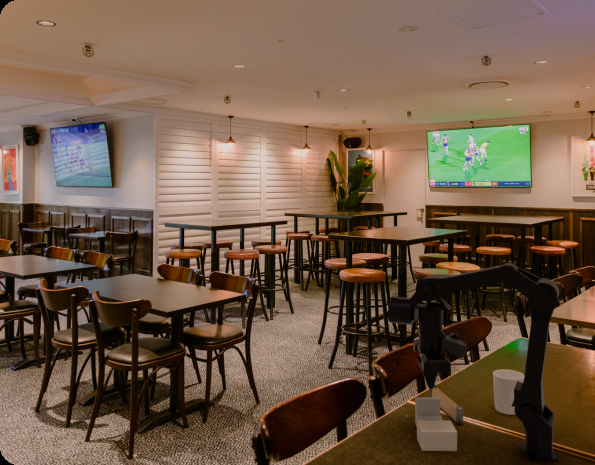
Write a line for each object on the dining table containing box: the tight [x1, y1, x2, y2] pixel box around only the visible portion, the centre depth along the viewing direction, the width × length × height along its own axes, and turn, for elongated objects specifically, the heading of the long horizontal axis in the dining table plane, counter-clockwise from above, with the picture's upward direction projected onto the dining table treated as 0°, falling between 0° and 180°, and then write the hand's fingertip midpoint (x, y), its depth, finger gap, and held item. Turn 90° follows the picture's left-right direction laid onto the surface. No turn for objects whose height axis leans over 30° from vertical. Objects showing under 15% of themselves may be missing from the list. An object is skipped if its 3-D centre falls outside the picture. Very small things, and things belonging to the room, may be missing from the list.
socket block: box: [416, 420, 458, 452], centre depth 120 cm, size 6×8×4 cm
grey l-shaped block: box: [414, 396, 444, 428], centre depth 127 cm, size 7×6×7 cm
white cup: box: [492, 368, 525, 416], centre depth 139 cm, size 8×8×10 cm
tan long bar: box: [429, 384, 464, 424], centre depth 139 cm, size 18×2×4 cm, turn 9°
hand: (430, 388), depth 127 cm, fingers closed
